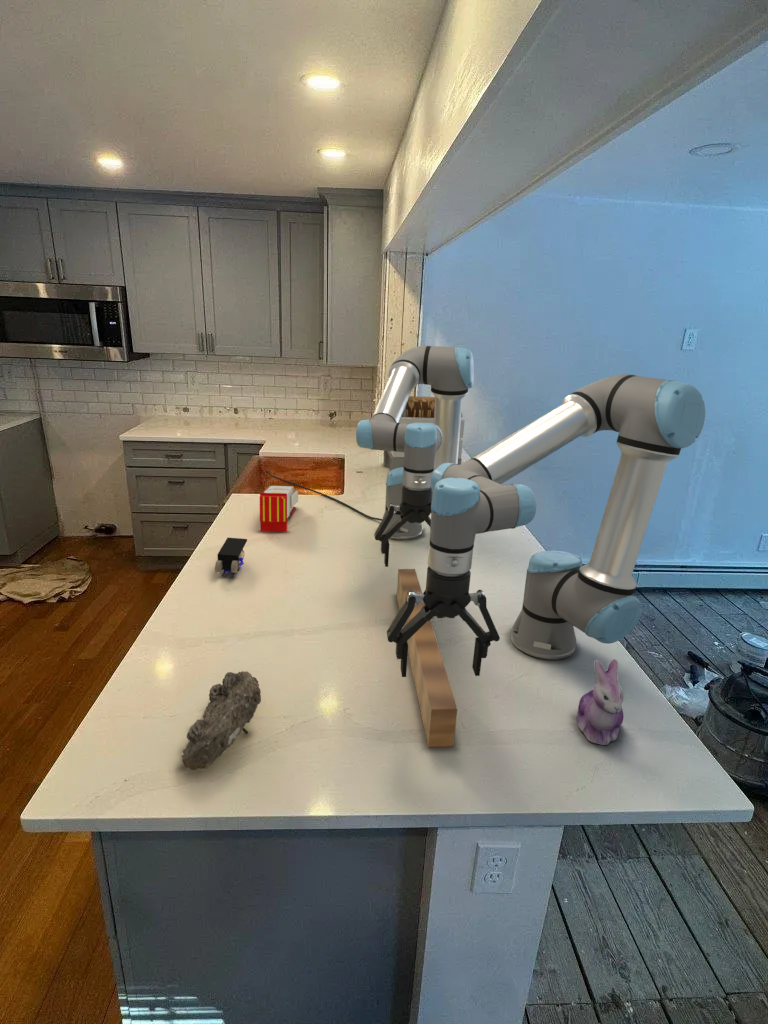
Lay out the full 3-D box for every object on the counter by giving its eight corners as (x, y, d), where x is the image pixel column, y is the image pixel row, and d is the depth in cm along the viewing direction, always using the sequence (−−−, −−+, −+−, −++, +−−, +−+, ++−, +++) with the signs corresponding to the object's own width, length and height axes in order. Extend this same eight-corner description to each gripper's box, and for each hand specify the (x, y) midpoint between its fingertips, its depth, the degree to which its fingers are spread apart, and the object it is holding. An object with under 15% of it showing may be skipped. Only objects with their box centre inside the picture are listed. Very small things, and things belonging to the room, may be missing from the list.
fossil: (206, 672, 114) (260, 639, 109) (238, 703, 117) (292, 672, 112) (156, 763, 94) (219, 728, 89) (197, 797, 97) (260, 766, 92)
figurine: (602, 755, 103) (617, 685, 98) (562, 719, 111) (574, 654, 106) (638, 739, 107) (654, 672, 102) (596, 706, 116) (609, 643, 110)
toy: (300, 481, 221) (289, 494, 192) (300, 514, 224) (289, 533, 194) (268, 480, 221) (253, 493, 191) (269, 514, 223) (254, 532, 194)
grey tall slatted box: (382, 463, 289) (386, 382, 275) (445, 464, 293) (451, 384, 279) (390, 482, 257) (394, 392, 243) (460, 483, 261) (468, 394, 247)
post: (396, 596, 157) (398, 568, 154) (413, 596, 157) (415, 568, 154) (428, 747, 103) (431, 709, 100) (453, 746, 104) (457, 708, 101)
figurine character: (238, 584, 162) (249, 557, 175) (236, 562, 158) (247, 536, 172) (215, 584, 161) (227, 556, 175) (212, 561, 158) (225, 535, 171)
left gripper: (368, 490, 135) (365, 570, 143) (470, 491, 138) (462, 570, 145) (366, 481, 142) (363, 558, 150) (463, 483, 145) (456, 558, 152)
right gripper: (378, 577, 93) (373, 685, 100) (526, 577, 95) (511, 683, 102) (375, 558, 100) (371, 660, 107) (513, 559, 102) (500, 659, 109)
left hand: (412, 564), depth 147 cm, fingers open, 13 cm apart
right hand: (439, 672), depth 105 cm, fingers open, 13 cm apart
